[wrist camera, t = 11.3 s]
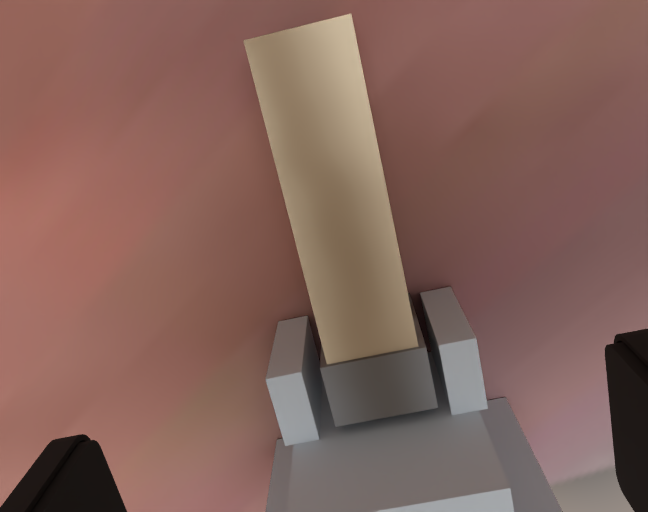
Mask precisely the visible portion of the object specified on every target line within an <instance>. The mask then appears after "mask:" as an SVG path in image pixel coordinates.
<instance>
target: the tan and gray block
mask: <svg viewBox="0 0 648 512" xmlns="http://www.w3.org/2000/svg"><path fill="white" fill-rule="evenodd" d="M243 41H244V45H245V49H246V53H247V57H248V60H249V64H250V68H251V72H252V76H253V80H254V84H255V88H256V91H257V95H258V99H259V103H260V107H261V111H262V115H263V119H264V122H265V126H266V130H267V134H268V138H269V142H270V146H271V150H272V154H273V157H274V161H275V165H276V169H277V173H278V177H279V181H280V185H281V188H282V192H283V196H284V200H285V204H286V208H287V212H288V216H289V219H290V223H291V227H292V231H293V235H294V239H295V243H296V247H297V250H298V254H299V258H300V262H301V266H302V270H303V274H304V278H305V282H306V285H307V289H308V293H309V297H310V301H311V305H312V309H313V313H314V316H315V320H316V324H317V328H318V332H319V336H320V340H321V360H320V370H321V374H322V378H323V381H324V385H325V389H326V393H327V397H328V401H329V404H330V408H331V412H332V416H333V420H334V423H335V427H338V426H343V425H349V424H354V423H360V422H365V421H370V420H376V419H381V418H386V417H392V416H397V415H402V414H408V413H413V412H419V411H424V410H429V409H435V408H438V404H437V399H436V394H435V389H434V384H433V379H432V374H431V369H430V364H429V359H428V354H427V349H426V345H425V342H424V338H423V335H422V332H421V329H420V325H419V322H418V319H417V316H416V312H415V309H414V306H413V303H412V299H411V296H410V293H408V292H407V287H406V282H405V277H404V272H403V267H402V262H401V257H400V252H399V247H398V242H397V238H396V233H395V228H394V223H393V218H392V213H391V208H390V203H389V198H388V193H387V188H386V183H385V178H384V173H383V168H382V163H381V158H380V154H379V149H378V144H377V139H376V134H375V129H374V124H373V119H372V114H371V109H370V104H369V99H368V94H367V89H366V84H365V79H364V75H363V70H362V65H361V60H360V55H359V50H358V45H357V40H356V35H355V30H354V25H353V20H352V15H351V14H347V15H343V16H339V17H335V18H331V19H327V20H323V21H319V22H315V23H311V24H307V25H303V26H299V27H295V28H291V29H287V30H283V31H279V32H275V33H271V34H267V35H263V36H259V37H255V38H251V39H247V40H243Z"/></svg>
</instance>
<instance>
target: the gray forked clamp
mask: <svg viewBox="0 0 648 512" xmlns="http://www.w3.org/2000/svg"><path fill="white" fill-rule="evenodd" d="M420 296H421V301H422V306H423V311H424V316H425V321H426V327H427V332H428V337H429V342H430V347H431V352H428V353H427V354H428V359H429V364H430V369H431V374H432V379H433V384H434V389H435V394H436V399H437V404H438V408H435V409H429V410H424V411H419V412H413V413H408V414H402V415H397V416H392V417H386V418H381V419H376V420H370V421H365V422H360V423H354V424H349V425H343V426H338V427H335V423H334V420H333V416H332V412H331V408H330V404H329V401H328V397H327V393H326V389H325V385H324V381H323V378H322V374H321V370H320V361H319V357H318V354H317V350H316V346H315V342H314V338H313V334H312V330H311V327H310V323H309V319H308V316H303V317H298V318H293V319H288V320H283V321H278V325H277V330H276V334H275V339H274V343H273V348H272V352H271V357H270V361H269V366H268V370H267V375H266V383H267V386H268V390H269V393H270V396H271V400H272V403H273V407H274V410H275V413H276V417H277V420H278V424H279V427H280V430H281V434H282V437H283V438H282V439H277V442H276V448H275V455H274V461H273V467H272V474H271V480H270V486H269V493H268V499H267V505H266V512H563V511H562V510H561V507H560V505H559V504H558V501H557V499H556V497H555V495H554V493H553V491H552V489H551V487H550V485H549V483H548V481H547V479H546V477H545V475H544V473H543V471H542V469H541V467H540V465H539V463H538V461H537V459H536V457H535V455H534V453H533V451H532V449H531V447H530V445H529V443H528V441H527V439H526V437H525V435H524V433H523V431H522V429H521V427H520V425H519V423H518V421H517V419H516V417H515V415H514V413H513V411H512V409H511V407H510V405H509V403H508V401H507V399H506V397H504V398H498V399H493V400H487V399H486V393H485V387H484V381H483V375H482V369H481V363H480V357H479V351H478V345H477V339H476V336H475V334H474V332H473V330H472V328H471V326H470V324H469V322H468V320H467V318H466V316H465V314H464V312H463V310H462V308H461V306H460V304H459V302H458V300H457V298H456V296H455V294H454V292H453V290H452V288H451V286H450V287H445V288H441V289H436V290H431V291H426V292H421V293H420Z"/></svg>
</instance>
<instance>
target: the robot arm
mask: <svg viewBox="0 0 648 512" xmlns="http://www.w3.org/2000/svg"><path fill="white" fill-rule="evenodd" d="M605 360H606V371H607V381H608V392H609V403H610V414H611V424H612V435H613V446H614V457H615V468H616V475H617V479H618V482H619V485H620V488H621V490H622V492H623V494H624V496H625V497H626V499H627V501H628V502H629V504H630V505H631V507H632V508H633V510H634V511H635V512H648V329H643V330H638V331H633V332H627V333H622V334H617V335H616V336H615V339H614V344H609V345H606V347H605ZM0 512H127V511H126V508H125V506H124V503H123V501H122V498H121V496H120V493H119V491H118V489H117V486H116V484H115V481H114V479H113V476H112V474H111V471H110V469H109V466H108V464H107V462H106V459H105V457H104V454H103V452H102V449H101V447H100V445H99V443H98V442H97V441H95V440H90V438H89V437H88V436H86V435H84V434H81V435H76V436H70V437H65V438H60V439H55V440H52V441H51V442H50V443H49V444H48V445H47V447H46V448H45V449H44V451H43V452H42V453H41V455H40V456H39V457H38V458H37V460H36V461H35V462H34V464H33V465H32V466H31V468H30V469H29V470H28V472H27V473H26V474H25V476H24V477H23V478H22V480H21V481H20V482H19V484H18V485H17V486H16V488H15V489H14V490H13V491H12V493H11V494H10V495H9V497H8V498H7V499H6V501H5V502H4V503H3V505H2V506H1V507H0Z"/></svg>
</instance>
